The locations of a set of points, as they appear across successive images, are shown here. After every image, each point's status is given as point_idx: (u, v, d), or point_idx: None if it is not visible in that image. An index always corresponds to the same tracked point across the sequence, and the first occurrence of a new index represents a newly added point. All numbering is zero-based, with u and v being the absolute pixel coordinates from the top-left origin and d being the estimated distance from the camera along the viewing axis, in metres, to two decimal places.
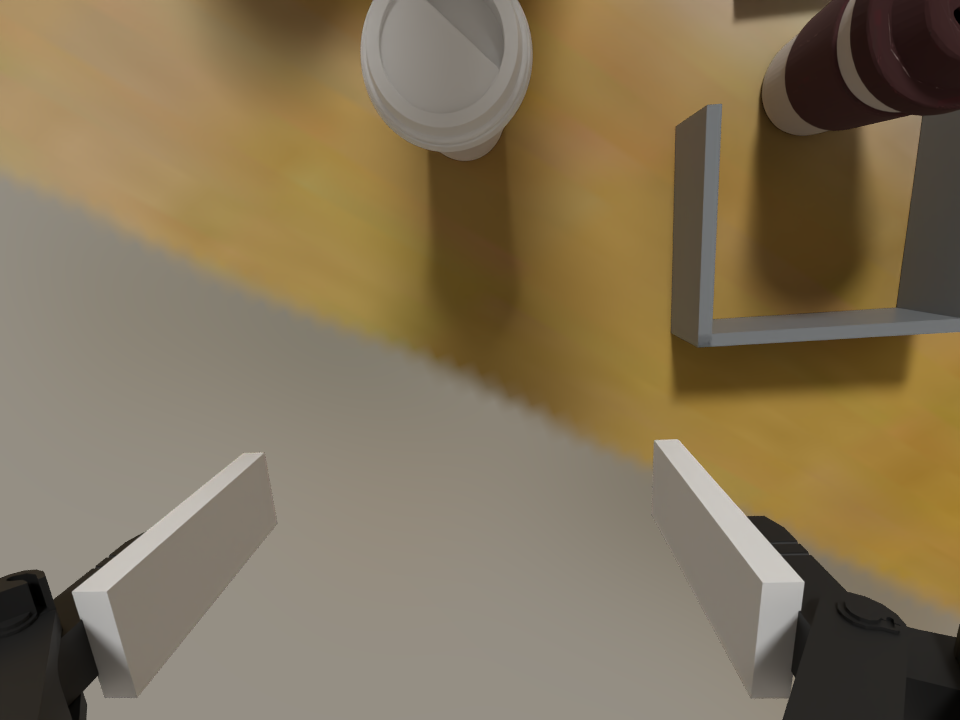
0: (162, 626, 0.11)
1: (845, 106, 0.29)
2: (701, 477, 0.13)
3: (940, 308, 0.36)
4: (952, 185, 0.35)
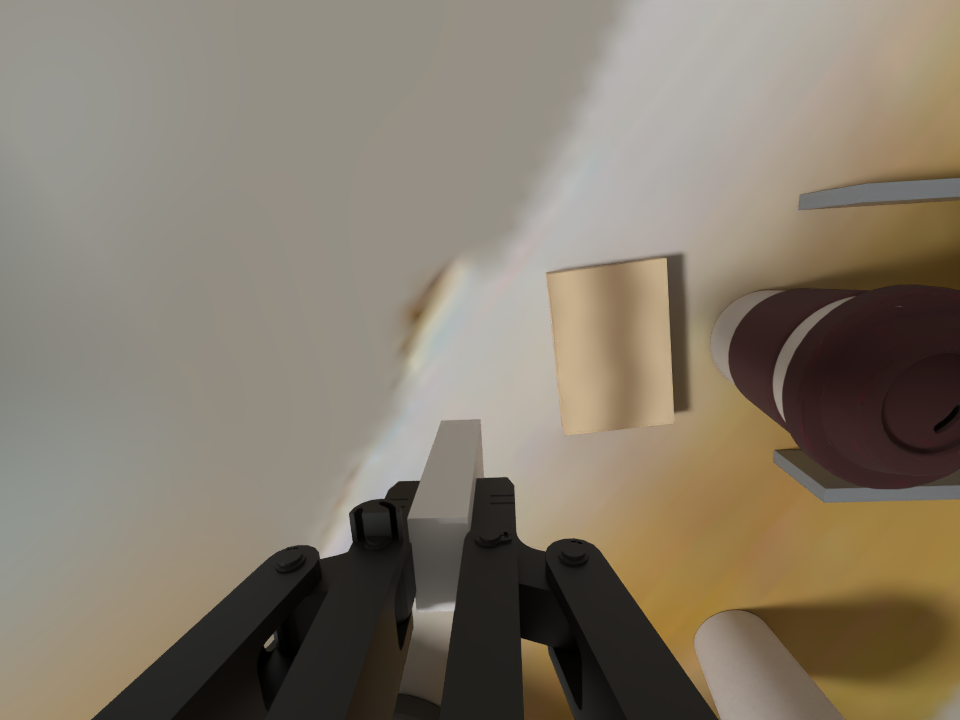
0: None
1: None
2: (468, 447, 0.15)
3: None
4: (942, 199, 0.29)
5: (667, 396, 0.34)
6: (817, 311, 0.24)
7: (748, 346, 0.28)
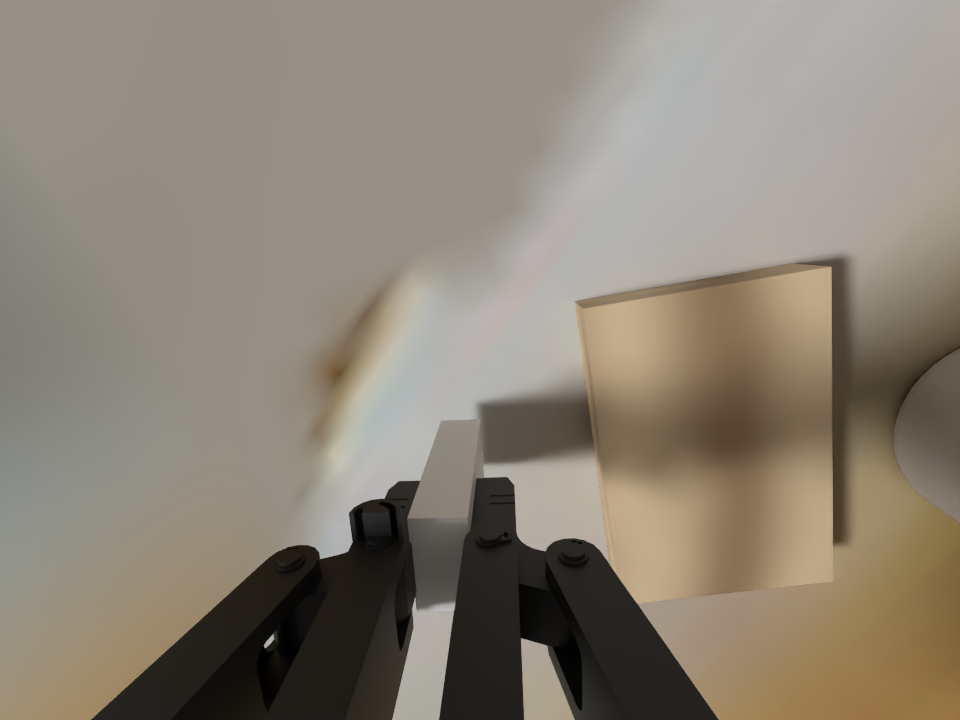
0: None
1: None
2: (468, 447, 0.15)
3: None
4: None
5: (821, 534, 0.17)
6: None
7: None
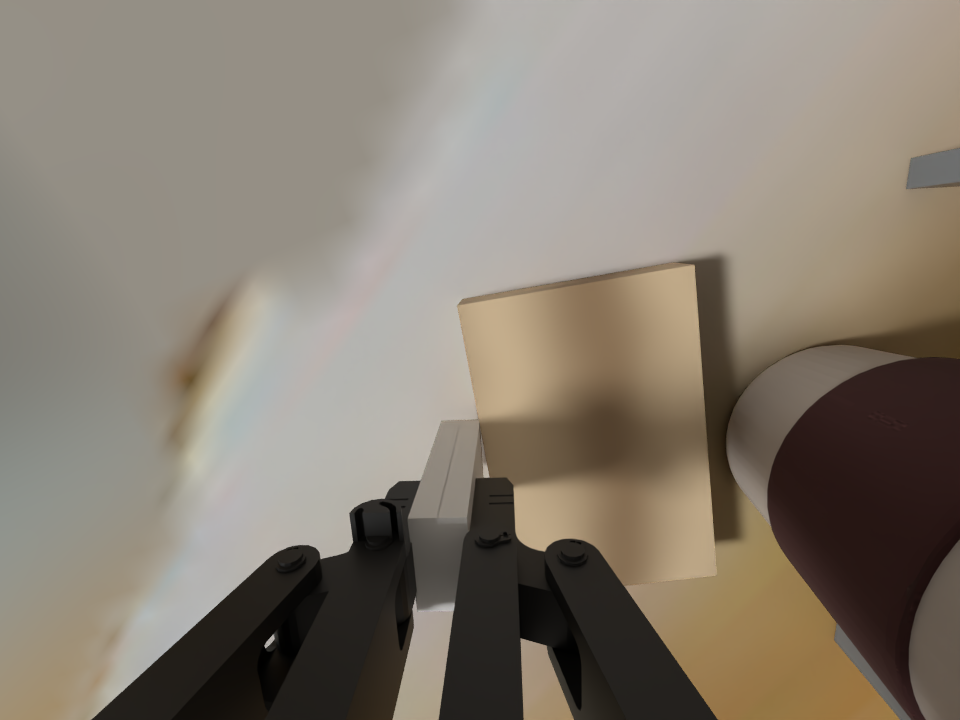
0: None
1: None
2: (467, 447, 0.15)
3: None
4: None
5: (702, 528, 0.18)
6: None
7: (823, 500, 0.12)
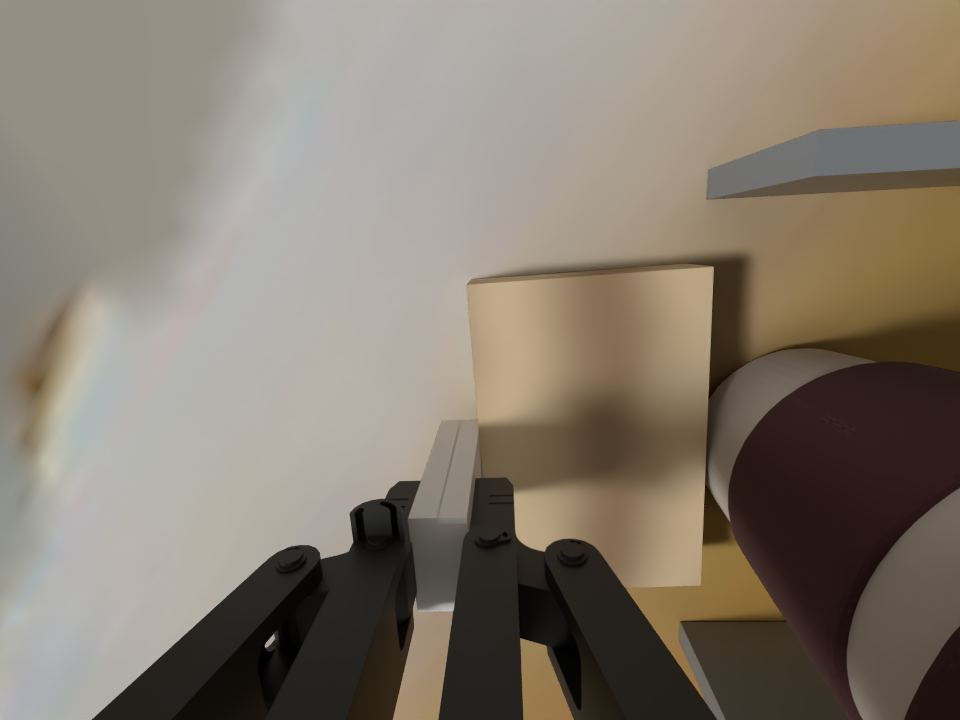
0: None
1: None
2: (467, 447, 0.15)
3: None
4: None
5: (691, 536, 0.17)
6: None
7: (776, 502, 0.12)
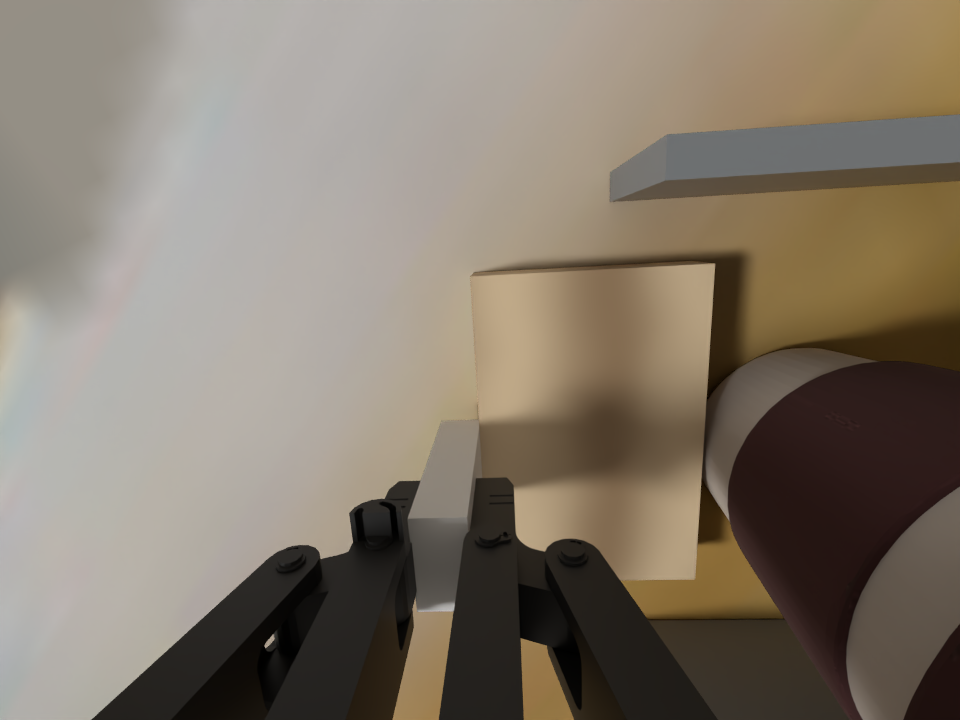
0: None
1: None
2: (467, 447, 0.15)
3: None
4: (870, 177, 0.13)
5: (687, 531, 0.18)
6: None
7: (777, 498, 0.12)
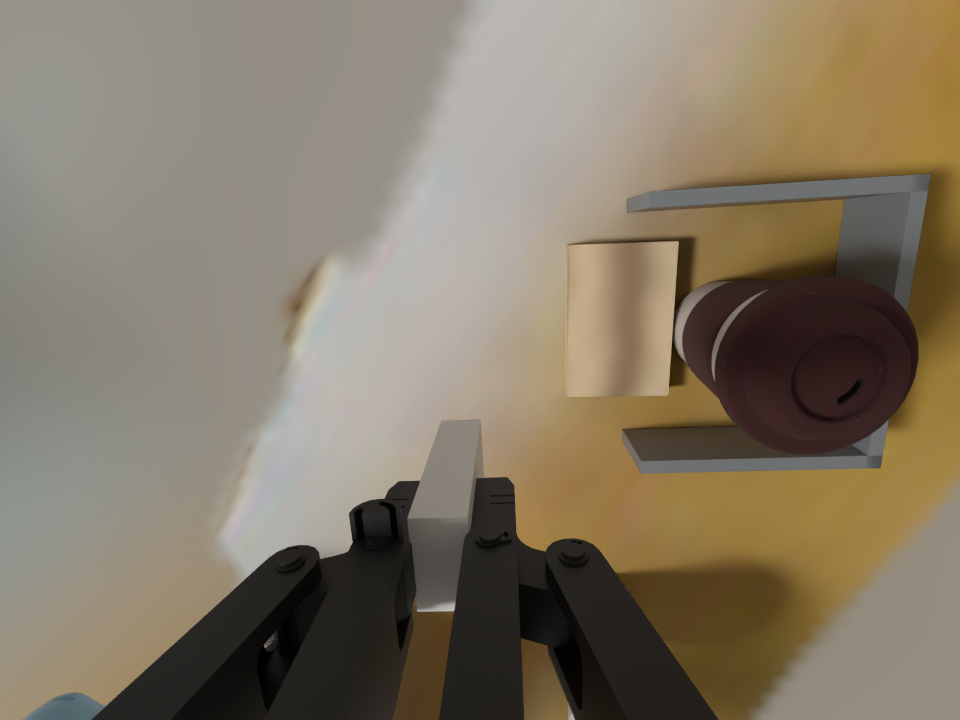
0: None
1: None
2: (468, 447, 0.15)
3: None
4: (733, 204, 0.32)
5: (664, 370, 0.37)
6: (752, 297, 0.28)
7: (696, 328, 0.31)
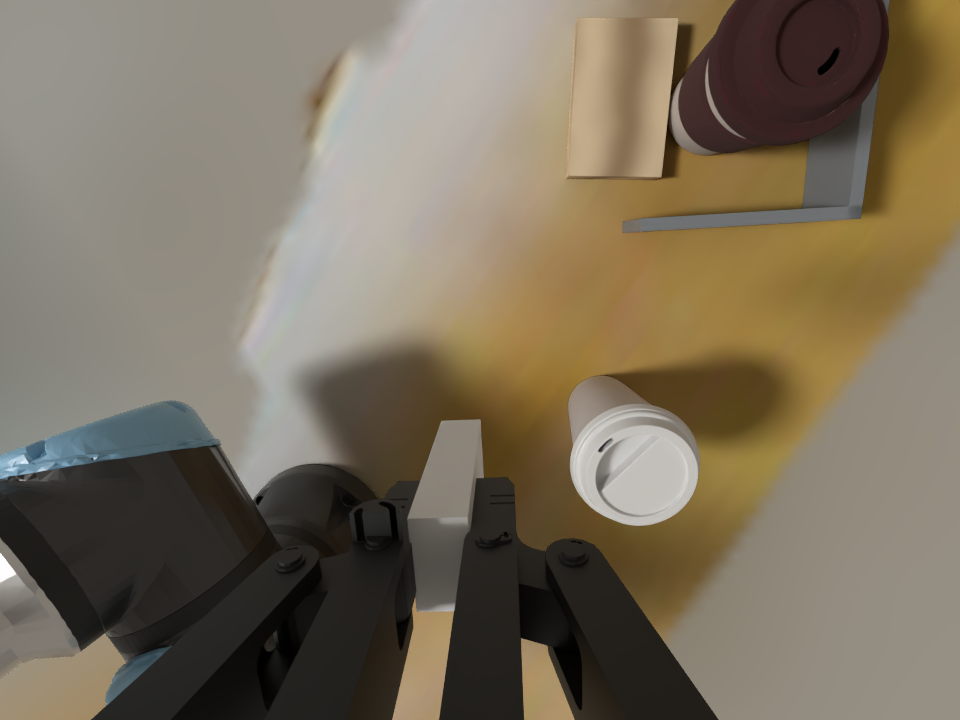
0: None
1: None
2: (468, 447, 0.15)
3: None
4: None
5: (659, 150, 0.40)
6: None
7: (691, 71, 0.34)
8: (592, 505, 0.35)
